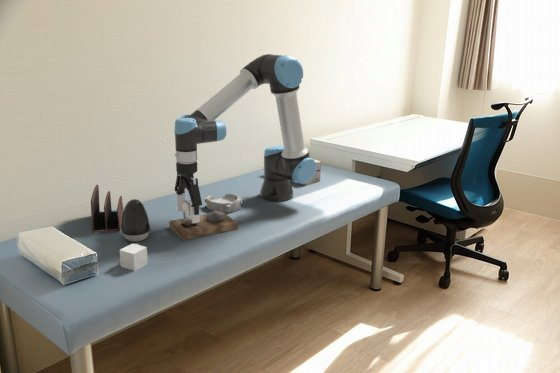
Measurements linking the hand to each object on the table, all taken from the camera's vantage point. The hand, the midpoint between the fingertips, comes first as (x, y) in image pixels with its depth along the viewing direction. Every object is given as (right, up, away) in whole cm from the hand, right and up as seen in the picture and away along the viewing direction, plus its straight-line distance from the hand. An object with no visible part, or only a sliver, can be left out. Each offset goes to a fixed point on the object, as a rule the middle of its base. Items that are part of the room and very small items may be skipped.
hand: (188, 216), depth 194 cm
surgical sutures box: (+41, +15, +72) cm, 84 cm away
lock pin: (0, -5, +2) cm, 6 cm away
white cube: (-13, -15, -25) cm, 32 cm away
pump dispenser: (-18, -8, -5) cm, 20 cm away
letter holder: (-33, -3, +9) cm, 34 cm away
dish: (+10, +2, +27) cm, 29 cm away
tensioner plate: (+5, -5, +5) cm, 9 cm away
